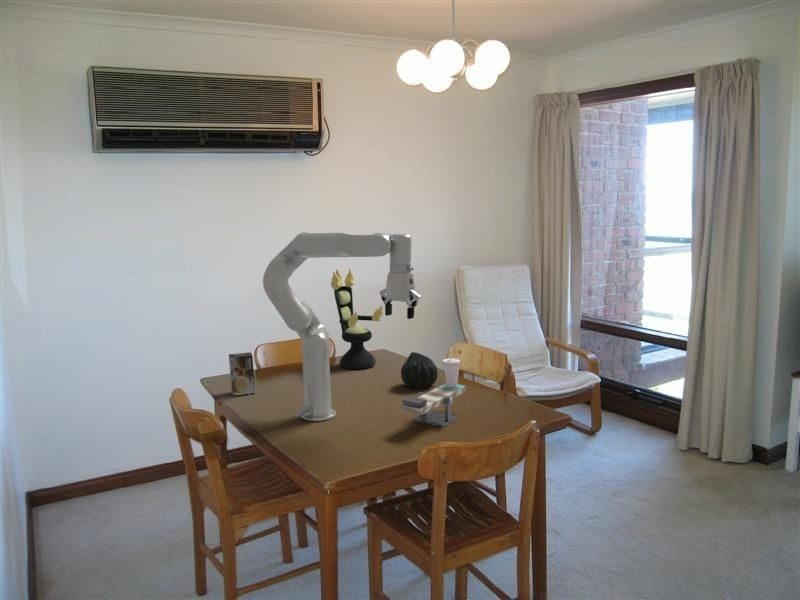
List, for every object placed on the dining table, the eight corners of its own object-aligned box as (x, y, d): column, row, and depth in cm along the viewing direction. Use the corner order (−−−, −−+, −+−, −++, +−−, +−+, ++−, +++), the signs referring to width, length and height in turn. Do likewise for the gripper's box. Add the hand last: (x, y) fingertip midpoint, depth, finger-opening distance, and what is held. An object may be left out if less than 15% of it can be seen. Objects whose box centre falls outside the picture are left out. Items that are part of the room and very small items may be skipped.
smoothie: (459, 383, 244) (459, 346, 241) (461, 388, 237) (461, 350, 235) (442, 383, 244) (441, 346, 241) (444, 389, 237) (443, 351, 235)
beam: (421, 415, 218) (421, 403, 217) (401, 410, 223) (401, 399, 222) (466, 391, 241) (466, 380, 240) (447, 388, 246) (447, 377, 245)
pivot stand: (444, 427, 225) (444, 402, 224) (411, 420, 233) (410, 395, 231) (459, 419, 233) (459, 394, 232) (427, 412, 241) (426, 388, 239)
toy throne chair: (358, 373, 296) (355, 272, 288) (322, 366, 309) (318, 270, 302) (385, 364, 310) (382, 268, 303) (349, 357, 324) (346, 265, 317)
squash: (447, 376, 268) (432, 344, 275) (415, 383, 261) (401, 350, 268) (434, 391, 279) (420, 361, 286) (403, 399, 272) (390, 367, 278)
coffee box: (253, 389, 274) (251, 351, 271) (255, 394, 268) (253, 355, 265) (230, 392, 271) (228, 353, 268) (232, 396, 265) (229, 357, 262)
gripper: (426, 270, 232) (425, 318, 235) (387, 266, 243) (386, 312, 245) (414, 272, 226) (413, 321, 229) (374, 268, 237) (373, 315, 239)
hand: (399, 316), depth 237 cm, fingers open, 9 cm apart
